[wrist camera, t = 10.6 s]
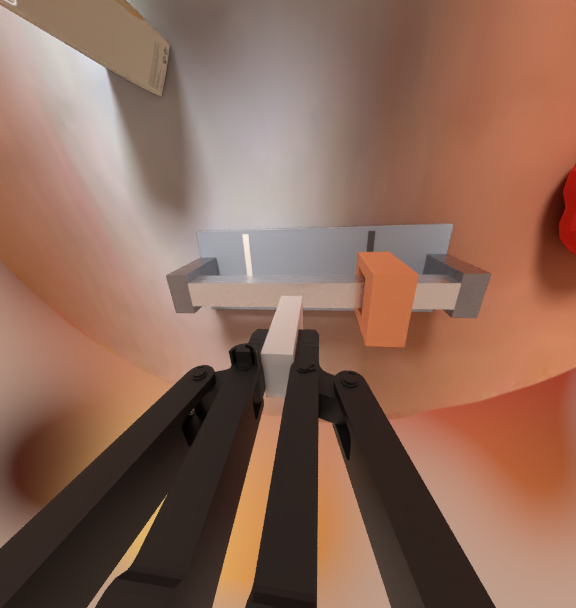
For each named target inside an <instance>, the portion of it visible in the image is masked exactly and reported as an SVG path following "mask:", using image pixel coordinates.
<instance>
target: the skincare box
mask: <svg viewBox="0 0 576 608" xmlns="http://www.w3.org/2000/svg"><path fill="white" fill-rule="evenodd" d="M0 5H2V6H4V7H5V8H7V9H9V10H10V11H12V12H14V13H15V14H17V15H19V16H20V17H22V18H24V19H25V20H27V21H29V22H30V23H32V24H34V25H35V26H37V27H39V28H40V29H42V30H44V31H45V32H47V33H49V34H50V35H52V36H54V37H55V38H57V39H59V40H60V41H62V42H64V43H65V44H67V45H69V46H70V47H72V48H74V49H75V50H77V51H79V52H80V53H82V54H84V55H85V56H87V57H89V58H90V59H92V60H94V61H95V62H97V63H99V64H100V65H102V66H104V67H105V68H107V69H109V70H110V71H112V72H114V73H116V74H117V75H119V76H121V77H123V78H125V79H126V80H128V81H130V82H132V83H134V84H136V85H138V86H140V87H142V88H144V89H145V90H147V91H149V92H151V93H154V94H156V95H158V96H160V97H161V96H162V91H163V86H164V81H165V76H166V70H167V64H168V57H169V50H170V44H169V43H168V42H167V41H166V40H165V39H164V38H163V37H162V36H161V35H160V34H159V33H158V32H157V31H156V30H155V29H154V28H153V27H152V26H151V25H150V24H149V23H148V22H147V21H146V20H145V19H144V18H143V17H142V16H141V15H140V14H139V13H138V12H137V11H136V10H135V9H134V8H133V7H132V6H131V5H130V4H129V3H128V2H127V1H126V0H0Z"/></svg>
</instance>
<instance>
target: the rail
mask: <svg viewBox="0 0 576 608" xmlns="http://www.w3.org/2000/svg"><path fill="white" fill-rule="evenodd" d="M490 276H491V273H489V272H486V271H484V270H482V269H480V268H477V267H475V266H473V265H471V264H468V263H466V262H464V261H462V260H459V259H457V258H455V257H453V256H450V255H448V254H427V255H426V260H425V265H424V270H423V275H419V276H418V281H417V287H416V292H415V297H414V302H413V307H412V309H443V310H444V311H445V312H446V313H447V314H448V315H449V316H450V317H451V318H477V316H478V313H479V310H480V307H481V303H482V300H483V297H484V294H485V291H486V288H487V285H488V282H489V279H490ZM166 277H167V281H168V285H169V289H170V292H171V296H172V300H173V303H174V307H175V311H176V313H195V312H197V311H198V310H199V309H200V308H201V307H202V306H219V307H278V304H279V301H280V298H281V296H302V301H303V308H362V307H363V297H364V287H365V277H364V275H231V276H219V270H218V265H217V259H216V257H204V258H199V259H197V260H195V261H193V262H191V263H189V264H187V265H185V266H183V267H181V268H179V269H177V270H175V271H174V272H172V273H170V274H168V275H166Z"/></svg>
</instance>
